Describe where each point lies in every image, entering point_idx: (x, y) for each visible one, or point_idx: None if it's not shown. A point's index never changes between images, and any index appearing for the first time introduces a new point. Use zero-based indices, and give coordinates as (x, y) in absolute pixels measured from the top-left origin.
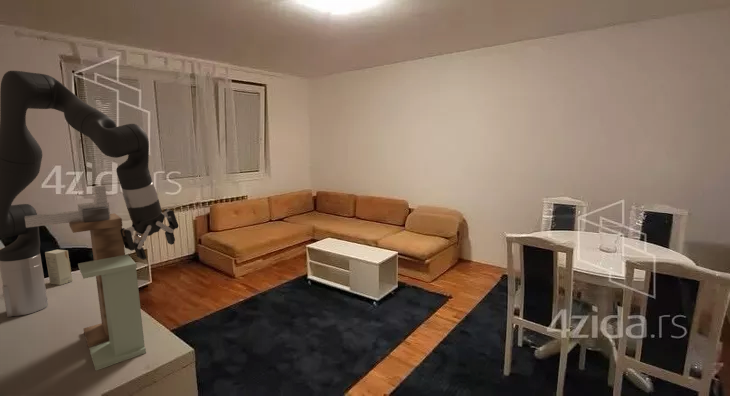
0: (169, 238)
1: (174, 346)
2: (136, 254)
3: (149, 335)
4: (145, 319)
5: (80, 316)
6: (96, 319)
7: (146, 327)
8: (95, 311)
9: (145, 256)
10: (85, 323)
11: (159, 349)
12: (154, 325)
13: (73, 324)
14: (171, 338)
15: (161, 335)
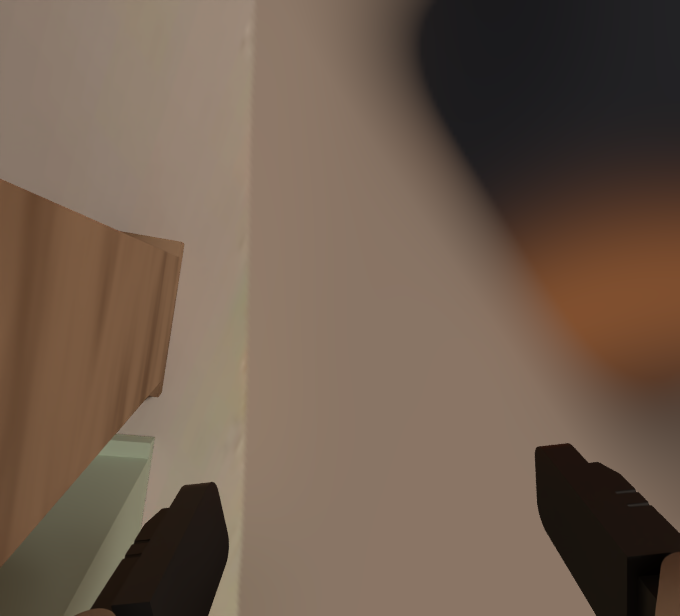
0: (579, 563)
1: (218, 611)
2: (132, 548)
3: (192, 460)
4: (237, 304)
5: (50, 11)
6: (94, 117)
7: (211, 382)
8: (118, 15)
9: (215, 577)
10: (46, 118)
11: None
12: (239, 390)
13: (3, 80)
14: (236, 546)
15: (222, 495)
